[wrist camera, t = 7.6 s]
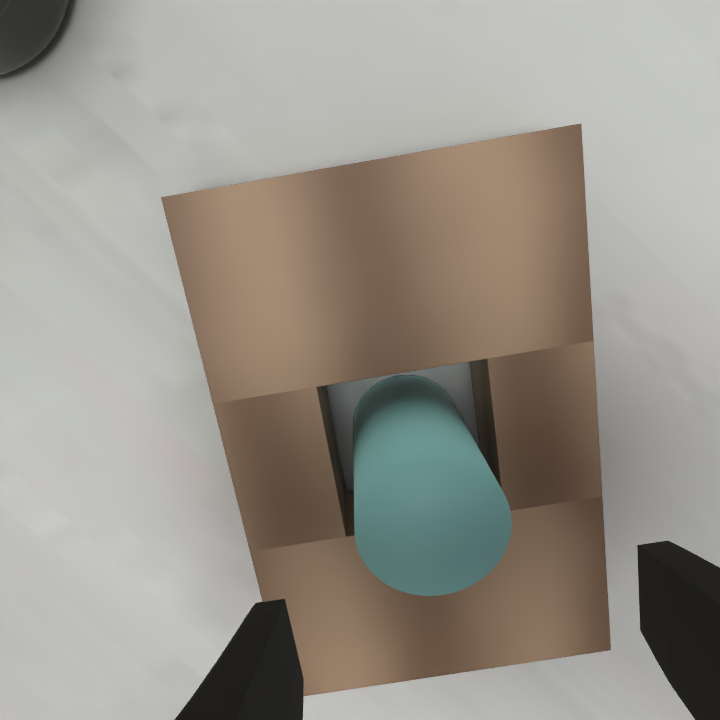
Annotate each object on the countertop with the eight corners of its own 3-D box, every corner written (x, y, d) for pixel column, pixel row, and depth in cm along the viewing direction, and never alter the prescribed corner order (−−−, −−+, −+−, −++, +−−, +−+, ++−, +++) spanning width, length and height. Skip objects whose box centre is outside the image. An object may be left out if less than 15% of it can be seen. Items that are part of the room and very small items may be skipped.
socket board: (543, 139, 18) (581, 123, 15) (576, 594, 22) (610, 650, 19) (191, 201, 18) (161, 197, 15) (295, 637, 23) (287, 698, 20)
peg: (448, 365, 20) (500, 441, 13) (465, 461, 21) (521, 580, 14) (342, 387, 20) (339, 473, 13) (364, 482, 21) (372, 608, 14)
